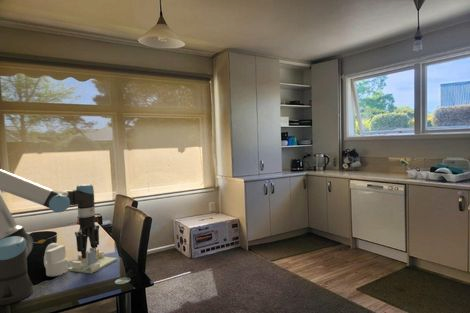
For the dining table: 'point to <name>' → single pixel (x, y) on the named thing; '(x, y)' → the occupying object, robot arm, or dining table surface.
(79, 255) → the fuselage bar
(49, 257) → the cylinder with rectangular tab
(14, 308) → the dining table surface
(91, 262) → the tail block
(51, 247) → the figurine
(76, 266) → the jig
